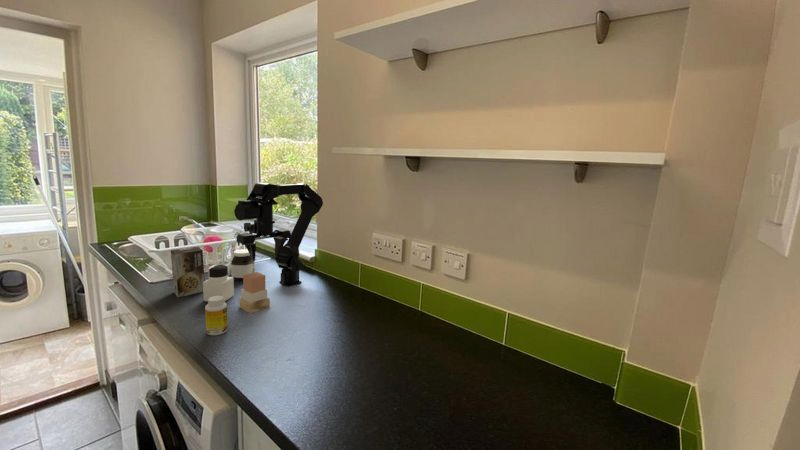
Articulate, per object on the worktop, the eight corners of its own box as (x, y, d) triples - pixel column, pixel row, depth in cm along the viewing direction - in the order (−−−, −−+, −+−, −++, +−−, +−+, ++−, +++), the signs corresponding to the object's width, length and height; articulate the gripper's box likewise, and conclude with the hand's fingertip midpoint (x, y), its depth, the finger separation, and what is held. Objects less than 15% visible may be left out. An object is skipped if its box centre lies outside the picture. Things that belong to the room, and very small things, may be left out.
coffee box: (200, 287, 134) (198, 246, 131) (205, 291, 129) (203, 249, 126) (172, 292, 127) (170, 249, 125) (177, 297, 123) (174, 253, 120)
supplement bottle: (226, 335, 99) (225, 301, 97) (204, 337, 97) (202, 302, 95) (228, 326, 104) (227, 293, 103) (208, 328, 102) (206, 295, 101)
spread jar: (247, 282, 141) (246, 254, 139) (219, 281, 141) (218, 253, 139) (259, 273, 153) (259, 247, 151) (233, 272, 153) (233, 246, 151)
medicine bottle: (234, 295, 127) (233, 263, 125) (222, 303, 120) (221, 269, 118) (216, 293, 128) (214, 262, 126) (203, 301, 121) (201, 268, 119)
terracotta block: (257, 285, 121) (257, 271, 120) (265, 289, 118) (265, 275, 117) (243, 289, 117) (243, 275, 116) (251, 293, 114) (251, 278, 113)
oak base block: (259, 302, 123) (258, 292, 123) (269, 307, 119) (269, 298, 118) (239, 307, 118) (239, 297, 117) (250, 314, 114) (249, 303, 113)
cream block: (257, 293, 122) (257, 285, 122) (267, 297, 119) (267, 289, 118) (241, 297, 118) (240, 289, 117) (250, 302, 114) (250, 294, 113)
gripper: (275, 212, 140) (276, 250, 142) (228, 216, 125) (230, 258, 128) (291, 216, 133) (291, 256, 135) (243, 221, 118) (245, 265, 121)
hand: (265, 258), depth 130 cm, fingers open, 9 cm apart
